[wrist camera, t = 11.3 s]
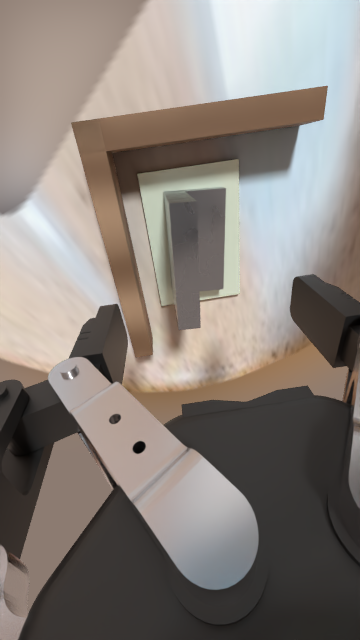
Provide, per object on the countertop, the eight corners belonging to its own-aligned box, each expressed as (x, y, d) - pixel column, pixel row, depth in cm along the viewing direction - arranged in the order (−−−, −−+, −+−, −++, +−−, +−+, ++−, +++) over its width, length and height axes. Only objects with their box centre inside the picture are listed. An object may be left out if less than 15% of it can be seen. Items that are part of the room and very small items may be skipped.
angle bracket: (163, 191, 20) (168, 203, 14) (222, 186, 20) (252, 196, 14) (171, 288, 24) (178, 330, 18) (220, 283, 24) (243, 323, 18)
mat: (137, 173, 19) (137, 174, 19) (237, 159, 20) (238, 159, 19) (161, 304, 25) (161, 306, 25) (238, 292, 25) (239, 293, 25)
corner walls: (82, 128, 18) (71, 122, 15) (302, 96, 18) (327, 85, 15) (137, 338, 27) (135, 357, 24) (282, 315, 27) (296, 331, 25)
